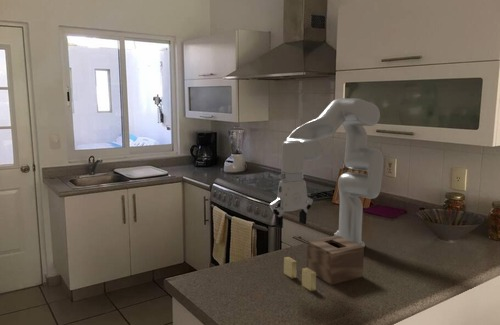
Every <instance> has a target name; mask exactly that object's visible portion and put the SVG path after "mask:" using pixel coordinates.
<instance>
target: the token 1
mask: <svg viewBox="0 0 500 325" xmlns="http://www.w3.org/2000/svg"><path fill="white" fill-rule="evenodd" d="M297 263H298V262H297V260H295V259H294V258H291V257H290V256H285V257H283V274H284V275H285V276H287V277H288V278H290V279H296V278H297Z"/></svg>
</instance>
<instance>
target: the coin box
mask: <svg viewBox="0 0 500 325" xmlns="http://www.w3.org/2000/svg"><path fill="white" fill-rule="evenodd" d="M306 244H307V246H306V247H307V248H306V267H307V268H309V269H311V270H312V271H314V272H316V278H319V279H321V280H323V281H324V282H325V283H328V284H329V285H331V286H333V285H337V284H341V283H344V282H348V281H352V280H355V279H359V278H363V277H364V276H363V275H364V258H365V256H364V253H365V247H363V246H361V245H359V244H356V243H354V242H352V241H349V240H347V239H345V238H343V237H340V236H338V235H337V236H335V235H332V236H328V237H327V236H326V237H322V238H317V239H312V240H307V243H306Z"/></svg>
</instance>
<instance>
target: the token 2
mask: <svg viewBox="0 0 500 325" xmlns="http://www.w3.org/2000/svg"><path fill="white" fill-rule="evenodd" d="M316 284H317V276H316V272H314V271H312V270H311V269H309V268H307V266H306V267H304V268H301V286H302V287H304V288H305V289H306V290H308V291H309V292H313V291H316V289H317V288H316Z"/></svg>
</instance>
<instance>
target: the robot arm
mask: <svg viewBox="0 0 500 325" xmlns="http://www.w3.org/2000/svg"><path fill="white" fill-rule="evenodd" d="M380 119H381V111H380V109H379V107H378V106H377V105H376V104H375V103H372V102H369V101H367V100H364V99H362V98H351V97H350V98H345V97H344V98H341V97H339V98H336V99H334V100H332V101H331V102H330V103H329V104H328V105H327V106H326V108H325V109H324V110H323V111H322V112H321V113H320V114H319V116H317V117H316V118H315V119H311V120H310V121H308V122H306V123H303V124H302V125H300V126H298V127H297V128H295V129H294V130H293V131H292V132H291V133H290V134H289V135H288V136H287V138H285V140H284V141H282V144H281V164H280V165H281V167H280V168H281V170H280V174H278V179H280V180H279V183H278V186H277V195H276V196H277V197H276V199H275V200H273V201H272V202H271V203H269V208H270V209H271V212H272V213H273V214H274V215H275V226H276V227H277V228H279V229H282V228H284V216H283V214H284V213H285V212H294V211H299V210H300V211H299V216H298V218H299V220H298V222H299V223H300V224H302V225H306V224H307V213H309V210H310V209H311V207H312V204H313V202H314V199H313V198H311V197H309V196H308V189H307V183H306V180H304V164H305V163H304V162H305V161H306V162H307V161H308V162H313V161H316V160H319V158H321V156H322V155H323V151H324V147H323V145H322V143H321V142H320V141H319V140H320V139H325V138H328V137H331V136H333V135H334V134H335V133H336V132H337V131H338V129H339V128H340V127H341V126H342V127H343V128H344V130H345V133H346V134H345V135H346V137H345V139H346V140H345V149H344V165H345V167H346V168H348V169H350V170H355V171H356V170H357V171H361V172H362V171H363V172H367V174H365V173H358V172H350V171H348V172H344V173H342V174H340V176H339V177H338V179H337V187H338V196H339V209H338V210H339V212H338V214H339V215H338V230H336V232H334V233H333V236H337V235H338V236H340V237H343V238H345V239H347V240H349V241H352V242H354V243H356V244H359V245H361V246H363V247H364V248H365V246H366V244H365V242H364V241H362V230H363V227H362V226H363V212H364V211H363V208H364V207H363V202H362V200H361V198H366V199H371V200H372V199H376V198H377V197H379V195H380V193H381V187H382V179H383V171H384V162H385V161H384V160H385V159H384V155H383V153H382V151H381V150H380V149H378V148H374V147H373V148H372V147H368V133H367V130H366V129H365V127H364V126H366V127H373V126H375V125H377V124H378V122H380ZM276 208H277V209H276Z"/></svg>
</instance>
